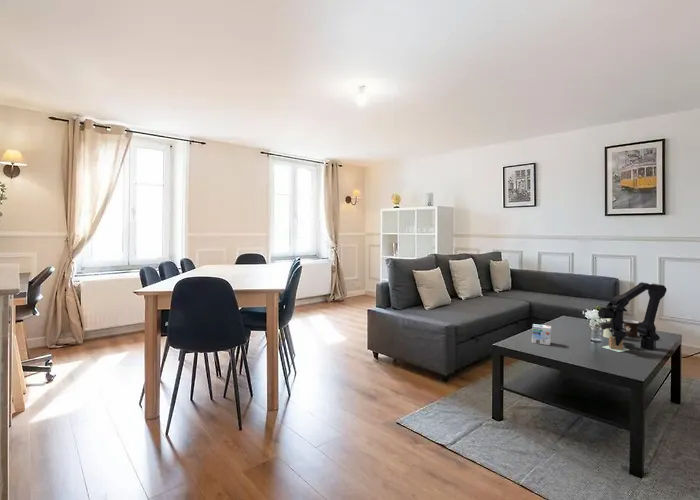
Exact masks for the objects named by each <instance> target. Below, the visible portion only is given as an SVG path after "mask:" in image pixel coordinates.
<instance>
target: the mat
mask: <svg viewBox="0 0 700 500" xmlns="http://www.w3.org/2000/svg"><path fill="white" fill-rule="evenodd" d="M602 348H603V349H607V350H611V351H613V352H617V353H622V352H626V351H630V349H629V348H627V347H625V348H623V350H617V349H610V347H609V344H608V345H604V346H602Z"/></svg>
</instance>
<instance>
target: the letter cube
mask: <svg viewBox="0 0 700 500" xmlns="http://www.w3.org/2000/svg"><path fill="white" fill-rule="evenodd" d="M608 345H609V347H610V349H617V350H623V345H624V339H623V340H622V341H621V343H620V344H619V346H616V341H615V337H611V336H609V338H608ZM610 349H609V350H610Z"/></svg>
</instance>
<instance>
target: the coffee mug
mask: <svg viewBox="0 0 700 500" xmlns="http://www.w3.org/2000/svg"><path fill="white" fill-rule="evenodd" d="M623 321H624V323H623V330H624V331H625V332H626V337H628V338H635V339H636V338H637V337H638V335H639V332H638V329H637V327H638V323H639V322H640V321H639V320H632V319H623Z"/></svg>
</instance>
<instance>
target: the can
mask: <svg viewBox="0 0 700 500" xmlns="http://www.w3.org/2000/svg"><path fill="white" fill-rule="evenodd" d="M610 319H611V318H608V319H607V322H608V321H610ZM609 336H611V337H612V333H611V332H610V331H609V329H604V330H603V334H602V337H604V338H607V339H609Z"/></svg>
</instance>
